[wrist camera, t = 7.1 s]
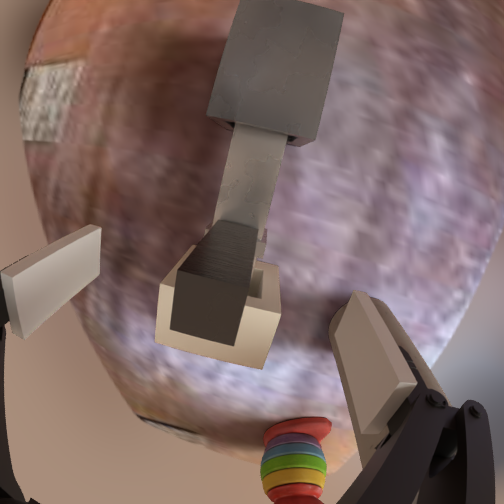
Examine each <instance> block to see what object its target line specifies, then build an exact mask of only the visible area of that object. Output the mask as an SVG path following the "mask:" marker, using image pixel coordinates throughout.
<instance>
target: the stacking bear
mask: <svg viewBox="0 0 504 504" xmlns="http://www.w3.org/2000/svg"><path fill="white" fill-rule="evenodd" d="M331 427H332V423H331V422H330V421H329V420H328V419H326V418H320V417H312V418H300V419H294V420H289V421H285V422H282V423H279V424H276V425H274V426H272V427H271V428H269V429H268V430H267V431H266V432H265V434H264V437H263V441H264V445H265V447H266V449H265V452H264V455H263V457H262V461H261V471H260V473H261V480H262V484H263V489H264V492H265V494H266V495H267V496H268V497H269V499H270V500H271V501H272V502H274V504H324V503H322V502H321V501H320V500H319V499H318V498H319V497H320V496H321V494H322V492H323V488H324V483H325V476H326V461H325V457H324V454H323V452H322V449H321V445H320V442H321V440H322V439H323V438H324V437H325V436H327V435H328V434H329V432H330V431H331Z"/></svg>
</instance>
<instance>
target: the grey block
mask: <svg viewBox="0 0 504 504" xmlns="http://www.w3.org/2000/svg"><path fill="white" fill-rule="evenodd" d="M343 17H344V13H341V12H338V11H335V10H332V9H328V8H325V7H321V6H317V5H314V4H310V3H306V2H301V1H297V0H240V3H239V6H238V9H237V11H236V14H235V17H234V20H233V23H232V26H231V29H230V33H229V36H228V39H227V42H226V45H225V48H224V52H223V55H222V58H221V62H220V65H219V69H218V72H217V76H216V79H215V83H214V86H213V90H212V94H211V98H210V101H209V105H208V109H207V113H206V116H208V117H209V118H211V119H212V120H214V121H215V122H217V123H218V124H220V125H221V126H223V127H224V128H225V129H227V130H230V131H234V128H235V124H236V123H239V124H244V125H249V126H253V127H258V128H262V129H267V130H271V131H275V132H279V133H283V134H287V135H288V138H287V142H286V143H287V144H291V145H294V146H298V147H301V146H303V145H305V144H308V143H310V142H313V141H315V139H316V135H317V131H318V127H319V123H320V119H321V115H322V111H323V107H324V102H325V98H326V94H327V90H328V85H329V81H330V77H331V72H332V68H333V63H334V59H335V54H336V50H337V45H338V41H339V36H340V31H341V26H342V22H343Z"/></svg>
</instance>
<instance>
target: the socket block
mask: <svg viewBox="0 0 504 504" xmlns="http://www.w3.org/2000/svg"><path fill="white" fill-rule="evenodd" d="M195 247H196V245H192V246H191V247H190V249H189V250H188V251H187V252H186V253H185V254H184V256H183V257H182V258H181V259H180V260H179V261H178V263H177V264H176V265H175V266H174V267H173V269H172V270H171V271H170V272H169V273H168V275H167V276H166V277H165V278H164V279H163V281H162V282H161V283H160V289H159V298H158V308H157V320H156V332H155V342H156V343H159V344H162V345H166V346H169V347H172V348H176V349H179V350H183V351H186V352H190V353H193V354H197V355H201V356H205V357H209V358H213V359H217V360H221V361H225V362H229V363H233V364H238V365H242V366H247V367H251V368H256V369H261V370H262V369H263V366H264V363H265V360H266V358H267V355H268V352H269V349H270V346H271V343H272V340H273V337H274V335H275V332H276V329H277V326H278V323H279V320H280V317H281V300H280V284H279V269H278V266H277V265H273V264H269V263H265V262H260V261H256V263H255V267H254V271H253V275H252V278H251V282H250V287H249V291H248V295H247V299H246V303H245V307H244V310H243V314H242V318H241V322H240V326H239V329H238V333H237V337H236V341H235V345H234V346H230V345H225V344H221V343H217V342H213V341H209V340H206V339H202V338H198V337H194V336H191V335H187V334H183V333H180V332H176V331H173V330H170V321H171V312H172V304H173V296H174V289H175V282H176V275H177V270H178V268H179V267H180V266H181V265H182V263H183V262H184V261H185V260H186V258H187V257H188V256H189V255H190V253H191V252H192V251H193V250H194V248H195Z"/></svg>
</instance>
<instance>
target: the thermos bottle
mask: <svg viewBox="0 0 504 504" xmlns="http://www.w3.org/2000/svg"><path fill="white" fill-rule="evenodd" d="M370 299H371V301H372V302H373V304H374V306H375V307H376V309H377V311H378V312H379V314H380V316H381V317H382V319H383V321H384V323H385V324H386V326H387V328H388V329H389V331H390V333H391V335H392V336H393V338H394V340H395V342H396V344H397V345H398V346H401V347H402V348H403V349H404V350H406V351H407V352H408V353H409V355H410V357H411V359H412V360H413V363H414V364H415V366H416V369H418V371H419V373H420V375H421V377H422V378H423V380H424V382H425V384H426V386H427V388H428V389H434V390H436V391H438V392H440V393H441V394H442V395H443V396H444V397H445V398H446V399H447V402H448V406H451V407H452V405H451V404H450V402H449V400H448V398H447V397H446V395H445V393H444V392H443V390H442V388H441V387H440V385H439V383H438V382H437V380H436V378H435V377H434V375H433V374H432V372H431V370H430V369H429V367H428V366H427V364H426V362H425V361H424V359H423V358H422V356H421V355H420V353H419V352H418V350H417V348H416V347H415V345H414V344H413V342H412V341H411V339H410V338H409V336H408V335H407V333H406V332H405V330H404V329H403V328H402V326H401V325H400V323H399V322H398V320H397V319H396V317H395V316H394V315H393V313H392V312H391V310H390V309H389V307H388V306H387V305H386V304H385V303H384V302H383V301H381V300H379V299H375V298H370ZM347 305H348V303H347V304H345V305H344V306H343V307H341V308H340V309H339V310H338V311H337V312H336V313H335V315H334V316H333V318H332V320H331V322H330V325H329V330H328V333H329V339H330V343H331V347H332V350H333V354H334V357H335V360H336V364H337V368H338V371H339V375H340V379H341V382H342V386H343V390H344V394H345V398H346V401H347V405H348V409H349V413H350V417H351V421H352V425H353V429H354V433H355V438H356V442H357V446H358V450H359V455H360V459H361V463H362V468H363V469H364V467H365V466H366V464H367V463H368V462H369V460H370V459H371V457H372V456H373V454H374V453H375V451H376V449H375V447H376V446H377V445H378V444H379V443H380V442H381V441H382V439H383V438H384V437H385V436H386V435H387V434H388V433H389V429H388V426H387V424H386V426H385V427H384V428H383V429H382V430H381V432H380V433H379V434H361V431H360V427H359V423H358V419H357V415H356V411H355V407H354V403H353V399H352V395H351V391H350V388H349V384H348V380H347V377H346V373H345V370H344V366H343V362H342V359H341V355H340V352H339V348H338V345H337V342H336V338H335V333H336V330H337V328H338V326H339V324H340V321H341V319H342V317H343V314H344V312H345V310H346V307H347ZM456 453H457V452H456ZM456 453H455V455H456ZM418 494H419V491H418V493H417V495H416V497H415V499H414V501H413V503H412V504H417V499H418Z"/></svg>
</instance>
